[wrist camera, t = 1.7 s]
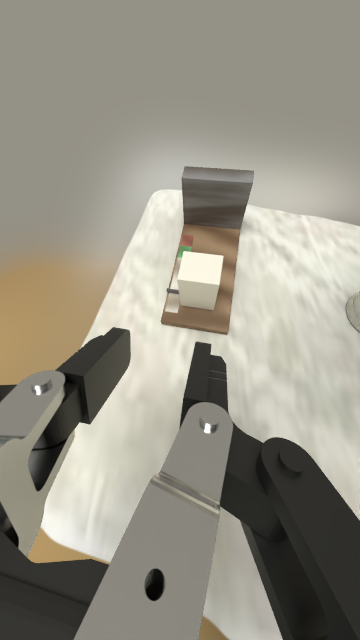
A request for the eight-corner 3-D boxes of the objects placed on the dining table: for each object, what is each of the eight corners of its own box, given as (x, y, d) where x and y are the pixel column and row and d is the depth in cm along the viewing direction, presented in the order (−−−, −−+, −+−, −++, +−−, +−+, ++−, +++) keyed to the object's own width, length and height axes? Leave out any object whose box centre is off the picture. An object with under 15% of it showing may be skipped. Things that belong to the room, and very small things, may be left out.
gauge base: (226, 334, 37) (240, 308, 26) (162, 324, 38) (149, 294, 28) (240, 217, 46) (254, 163, 36) (188, 212, 48) (186, 159, 37)
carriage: (213, 310, 37) (219, 284, 29) (164, 302, 38) (156, 276, 30) (218, 277, 39) (225, 244, 31) (171, 271, 40) (166, 238, 32)
